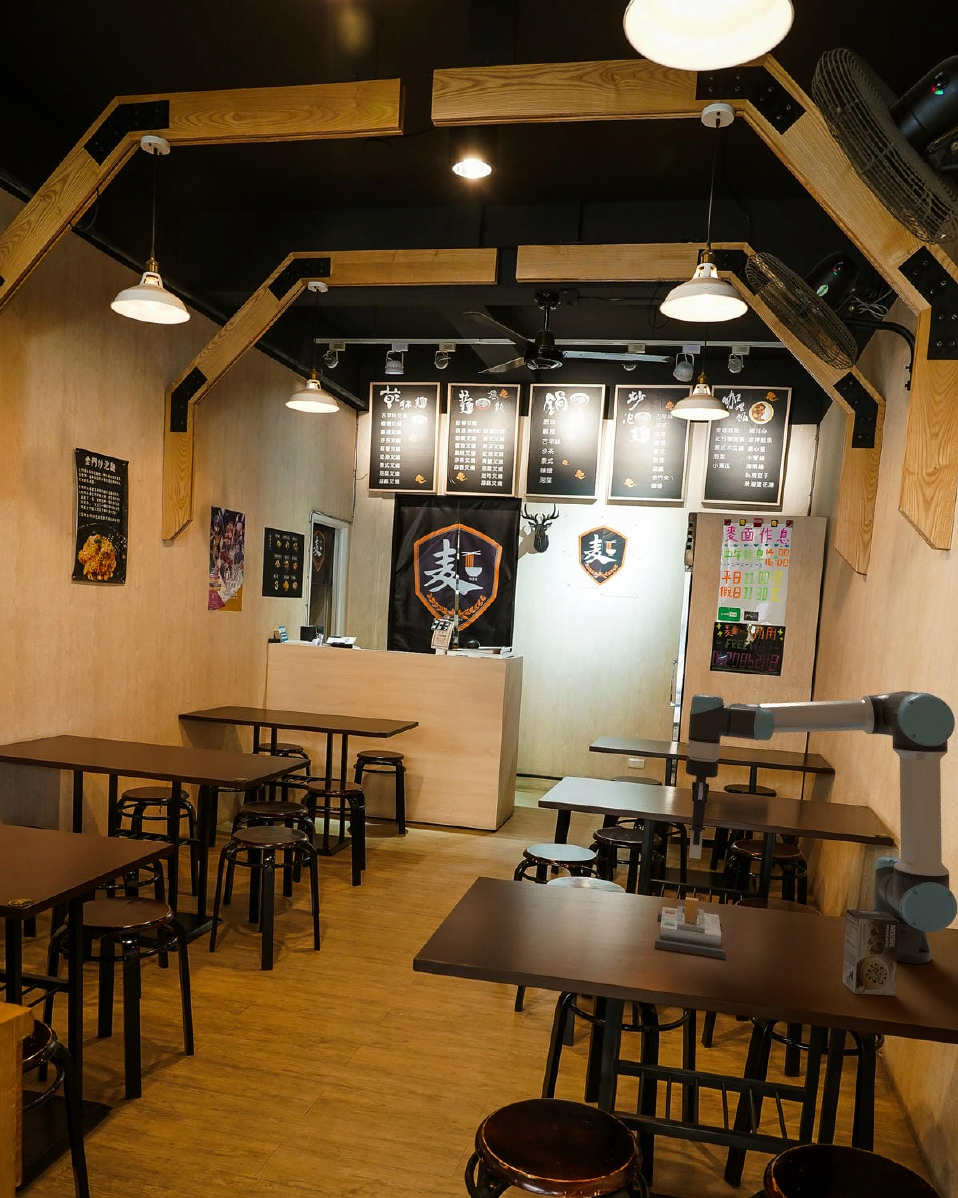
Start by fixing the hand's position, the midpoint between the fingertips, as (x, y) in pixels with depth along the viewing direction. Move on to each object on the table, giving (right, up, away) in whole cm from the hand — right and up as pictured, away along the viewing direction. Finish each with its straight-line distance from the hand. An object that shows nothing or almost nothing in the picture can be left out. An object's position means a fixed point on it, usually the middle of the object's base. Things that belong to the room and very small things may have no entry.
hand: (694, 857), depth 215 cm
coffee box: (+33, -23, -21) cm, 45 cm away
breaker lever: (0, -17, +5) cm, 17 cm away
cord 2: (-3, -20, -6) cm, 21 cm away
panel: (0, -21, +5) cm, 22 cm away
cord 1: (+2, -22, +15) cm, 27 cm away
